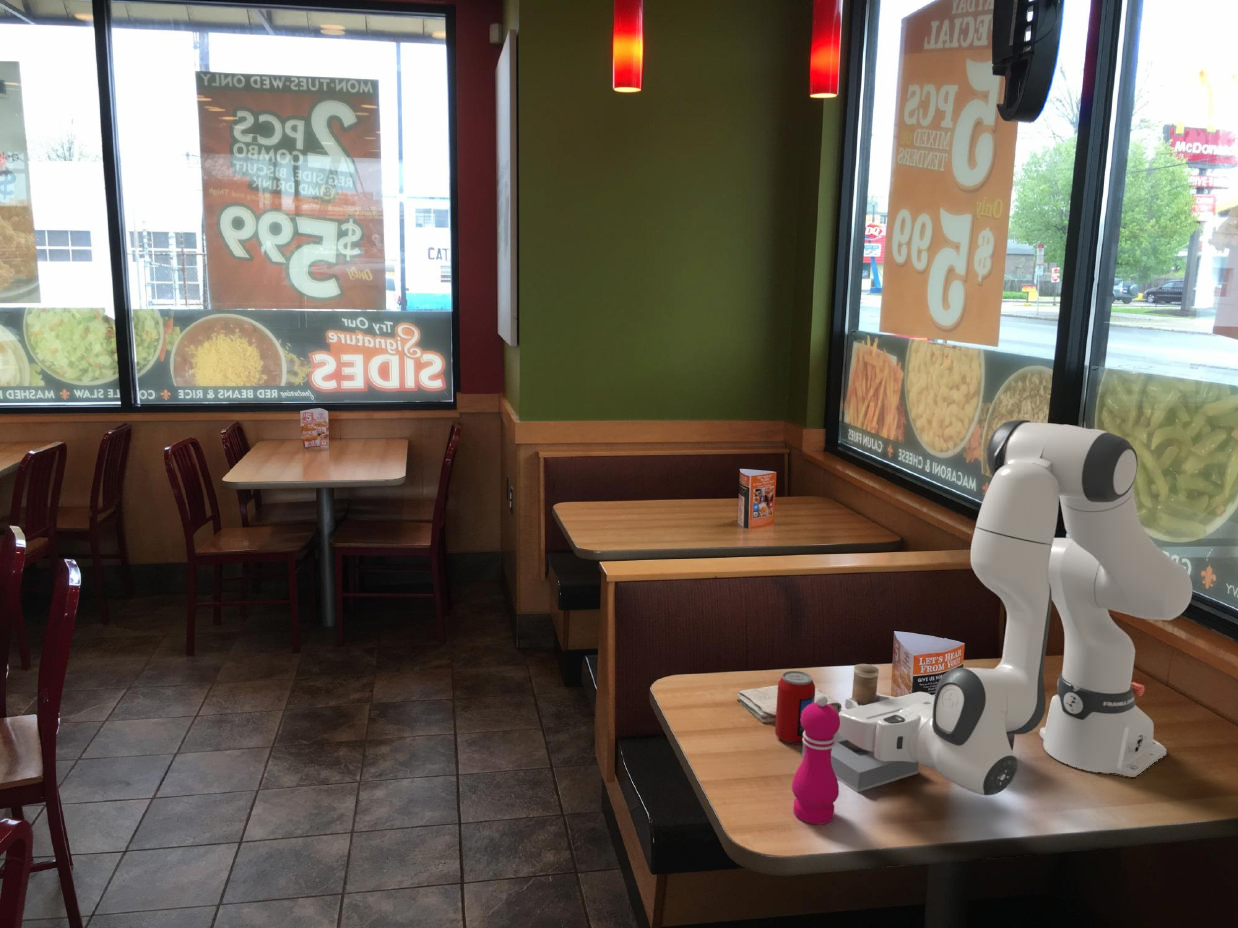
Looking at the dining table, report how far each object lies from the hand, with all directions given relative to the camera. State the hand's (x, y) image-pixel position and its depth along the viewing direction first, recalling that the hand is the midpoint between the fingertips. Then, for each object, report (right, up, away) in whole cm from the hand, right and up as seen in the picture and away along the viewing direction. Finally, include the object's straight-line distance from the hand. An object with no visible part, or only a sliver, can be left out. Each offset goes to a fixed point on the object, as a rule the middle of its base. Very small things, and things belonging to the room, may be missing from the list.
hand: (859, 699), depth 166 cm
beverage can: (-10, -10, +11) cm, 18 cm away
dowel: (0, -8, +1) cm, 8 cm away
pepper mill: (-11, -15, -15) cm, 24 cm away
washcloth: (-8, -8, +24) cm, 27 cm away
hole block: (0, -12, +2) cm, 12 cm away
